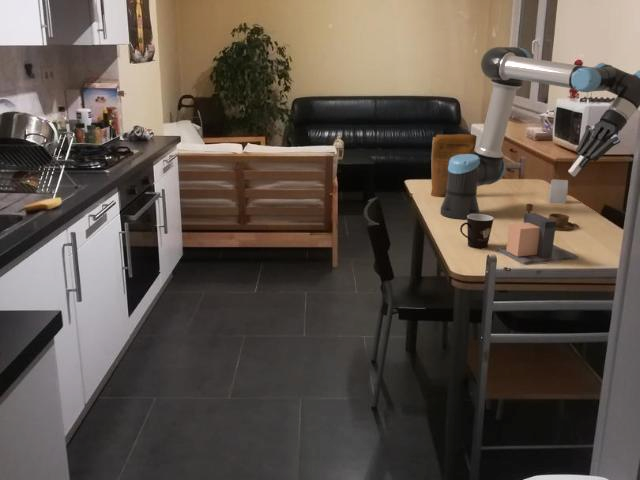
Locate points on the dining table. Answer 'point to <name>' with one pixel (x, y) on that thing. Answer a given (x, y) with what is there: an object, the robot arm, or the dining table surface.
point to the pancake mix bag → (447, 157)
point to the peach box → (523, 239)
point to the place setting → (557, 220)
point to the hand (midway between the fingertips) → (571, 174)
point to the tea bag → (558, 191)
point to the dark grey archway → (543, 233)
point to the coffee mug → (478, 230)
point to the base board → (557, 255)
